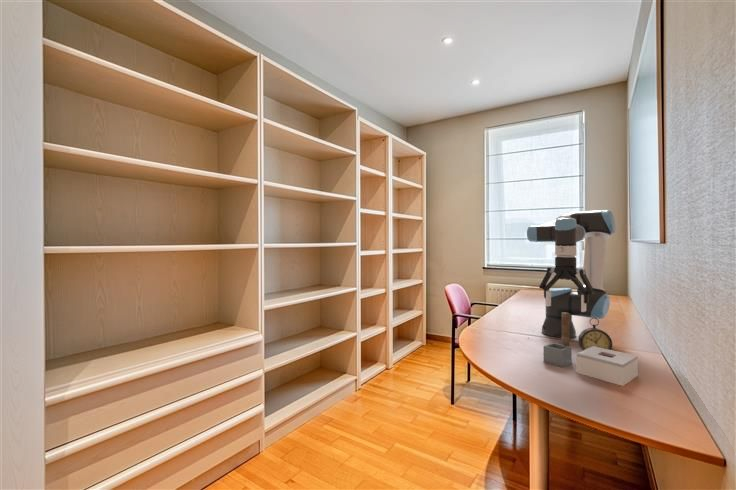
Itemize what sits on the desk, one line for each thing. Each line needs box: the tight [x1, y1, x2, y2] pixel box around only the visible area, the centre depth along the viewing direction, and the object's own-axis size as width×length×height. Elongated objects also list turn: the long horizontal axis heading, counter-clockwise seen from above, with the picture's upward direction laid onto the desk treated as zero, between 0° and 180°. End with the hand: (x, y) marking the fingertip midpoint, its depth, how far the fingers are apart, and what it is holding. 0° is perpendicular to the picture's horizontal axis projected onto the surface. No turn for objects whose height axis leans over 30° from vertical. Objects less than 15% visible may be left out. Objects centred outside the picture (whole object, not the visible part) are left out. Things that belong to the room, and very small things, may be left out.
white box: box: [576, 346, 639, 387], centre depth 121 cm, size 14×14×7 cm
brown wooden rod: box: [561, 312, 571, 347], centre depth 139 cm, size 3×3×18 cm
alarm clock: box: [577, 318, 613, 351], centre depth 138 cm, size 11×5×16 cm, turn 73°
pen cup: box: [543, 342, 573, 368], centre depth 133 cm, size 7×7×6 cm
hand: (565, 308), depth 139 cm, fingers open, 13 cm apart
